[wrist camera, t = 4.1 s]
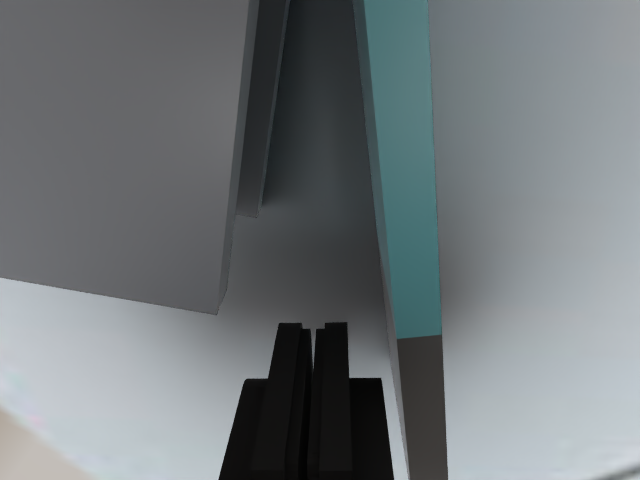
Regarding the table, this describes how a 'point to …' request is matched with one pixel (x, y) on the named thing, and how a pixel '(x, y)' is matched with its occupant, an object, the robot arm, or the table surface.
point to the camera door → (406, 217)
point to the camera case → (134, 141)
